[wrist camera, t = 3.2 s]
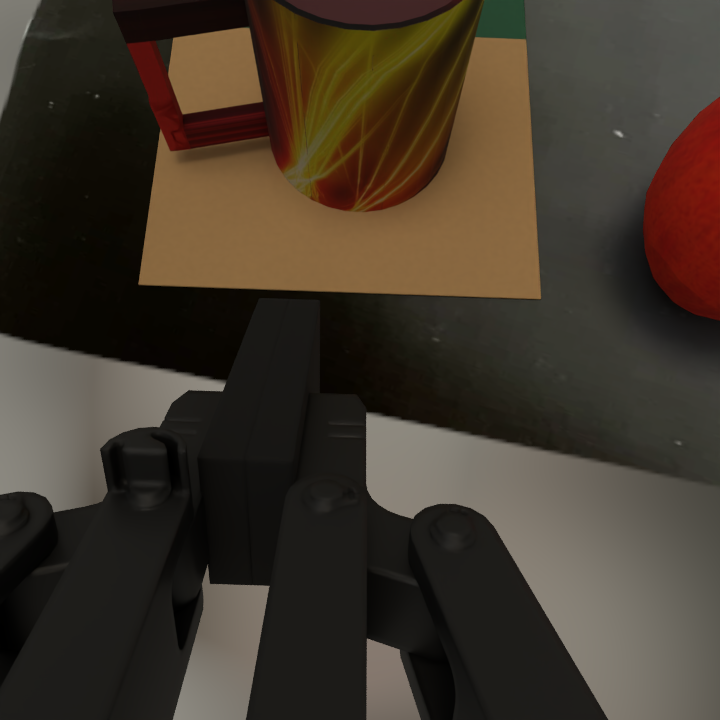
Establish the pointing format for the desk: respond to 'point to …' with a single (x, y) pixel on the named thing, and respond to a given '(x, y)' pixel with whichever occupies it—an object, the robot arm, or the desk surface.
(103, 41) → the desk surface
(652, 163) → the desk surface
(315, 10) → the mug
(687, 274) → the apple
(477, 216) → the desk mat
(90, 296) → the desk surface
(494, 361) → the desk surface
